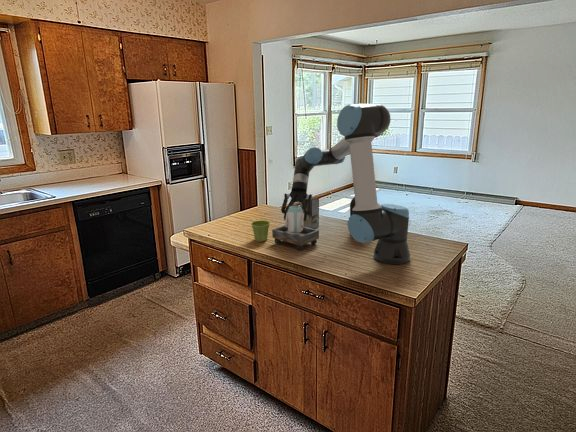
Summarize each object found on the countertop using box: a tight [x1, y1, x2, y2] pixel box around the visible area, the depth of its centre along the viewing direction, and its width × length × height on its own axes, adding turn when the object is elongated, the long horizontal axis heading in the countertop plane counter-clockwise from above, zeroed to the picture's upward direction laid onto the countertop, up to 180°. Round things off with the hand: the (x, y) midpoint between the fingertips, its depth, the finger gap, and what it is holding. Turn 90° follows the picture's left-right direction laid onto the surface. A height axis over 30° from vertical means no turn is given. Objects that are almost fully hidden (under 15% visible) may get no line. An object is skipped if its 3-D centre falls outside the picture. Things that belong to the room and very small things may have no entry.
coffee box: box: [299, 196, 320, 229], centre depth 204 cm, size 9×6×16 cm
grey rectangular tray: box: [271, 224, 320, 252], centre depth 179 cm, size 18×13×7 cm
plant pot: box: [250, 219, 271, 243], centre depth 185 cm, size 9×9×9 cm
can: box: [288, 205, 303, 233], centre depth 177 cm, size 7×7×12 cm
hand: (294, 226), depth 174 cm, fingers closed on can, 7 cm apart
